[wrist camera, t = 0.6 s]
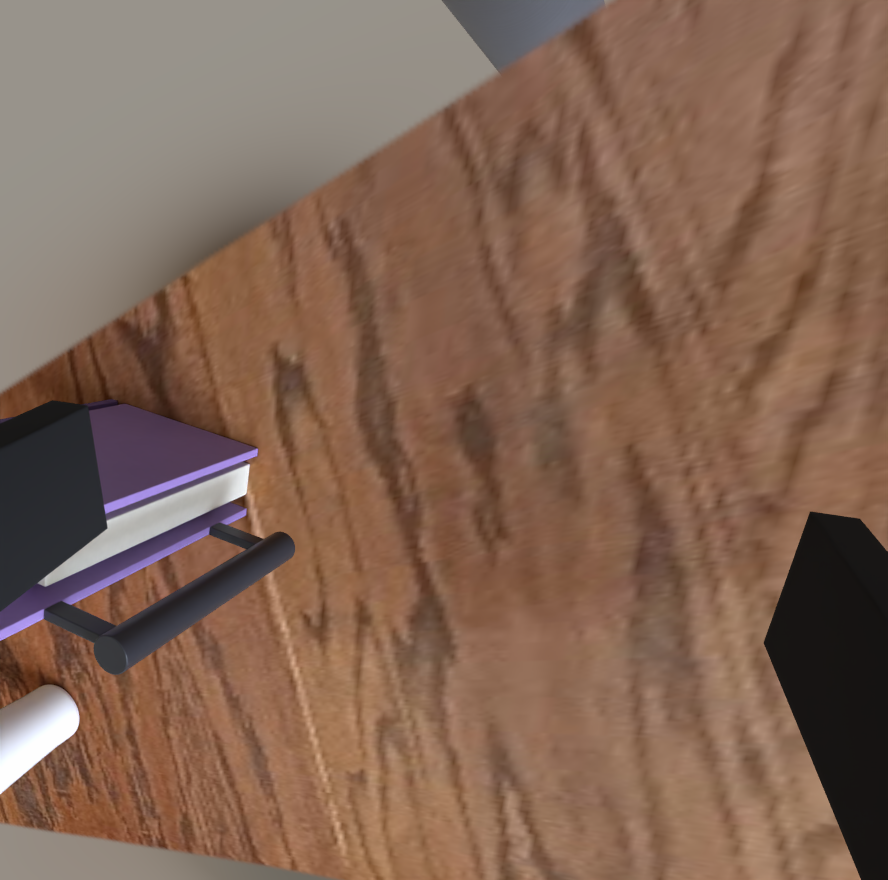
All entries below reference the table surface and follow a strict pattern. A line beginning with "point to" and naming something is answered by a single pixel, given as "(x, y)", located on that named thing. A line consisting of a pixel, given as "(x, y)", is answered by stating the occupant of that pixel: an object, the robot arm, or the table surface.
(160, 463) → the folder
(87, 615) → the folder cover
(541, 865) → the table surface
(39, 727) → the drinking glass
